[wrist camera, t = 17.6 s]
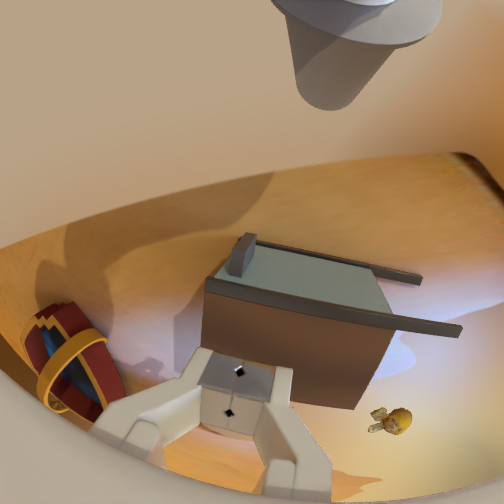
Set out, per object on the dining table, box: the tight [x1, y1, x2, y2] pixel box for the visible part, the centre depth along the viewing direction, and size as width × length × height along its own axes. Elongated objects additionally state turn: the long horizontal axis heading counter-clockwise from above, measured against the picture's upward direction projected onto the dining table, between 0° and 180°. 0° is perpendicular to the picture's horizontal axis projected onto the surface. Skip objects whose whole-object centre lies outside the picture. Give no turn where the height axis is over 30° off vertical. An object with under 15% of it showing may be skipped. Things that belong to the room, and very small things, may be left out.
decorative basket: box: [20, 302, 126, 425], centre depth 45 cm, size 34×29×15 cm
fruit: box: [368, 408, 412, 435], centre depth 40 cm, size 8×8×4 cm
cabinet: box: [200, 237, 463, 410], centre depth 30 cm, size 12×25×13 cm, turn 81°
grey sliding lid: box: [214, 232, 393, 314], centre depth 28 cm, size 3×16×11 cm, turn 81°
